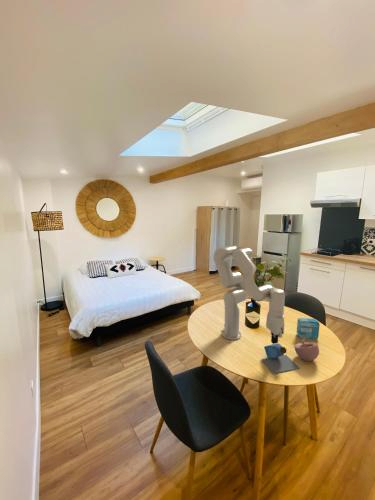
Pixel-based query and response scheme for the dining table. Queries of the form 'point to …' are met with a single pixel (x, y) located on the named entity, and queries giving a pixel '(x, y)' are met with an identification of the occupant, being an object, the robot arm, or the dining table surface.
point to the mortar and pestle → (307, 350)
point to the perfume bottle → (274, 350)
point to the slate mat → (280, 364)
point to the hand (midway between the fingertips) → (274, 342)
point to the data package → (308, 328)
